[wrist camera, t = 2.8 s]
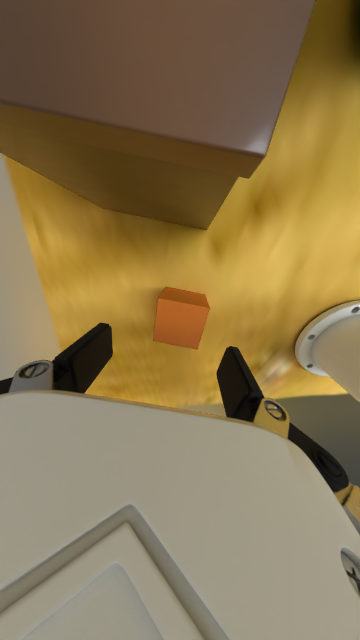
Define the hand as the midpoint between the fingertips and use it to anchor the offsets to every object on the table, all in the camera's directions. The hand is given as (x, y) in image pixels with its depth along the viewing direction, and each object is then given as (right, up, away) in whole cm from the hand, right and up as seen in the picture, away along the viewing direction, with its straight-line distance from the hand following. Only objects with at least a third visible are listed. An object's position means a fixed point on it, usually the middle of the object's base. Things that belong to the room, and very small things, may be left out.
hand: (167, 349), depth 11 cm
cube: (+1, +4, +9) cm, 10 cm away
